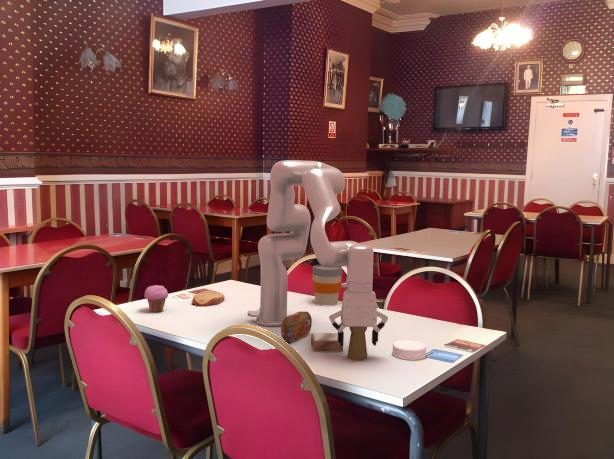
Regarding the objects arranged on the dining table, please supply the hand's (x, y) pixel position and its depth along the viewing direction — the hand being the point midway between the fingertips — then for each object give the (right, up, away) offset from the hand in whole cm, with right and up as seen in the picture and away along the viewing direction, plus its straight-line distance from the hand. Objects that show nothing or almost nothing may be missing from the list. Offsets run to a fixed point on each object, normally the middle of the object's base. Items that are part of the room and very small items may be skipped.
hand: (357, 344), depth 173 cm
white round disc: (+16, -4, +4) cm, 17 cm away
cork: (0, -4, 0) cm, 4 cm away
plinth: (-9, -3, +10) cm, 13 cm away
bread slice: (-56, +4, +69) cm, 89 cm away
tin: (-18, -2, +18) cm, 26 cm away
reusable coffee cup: (-7, +3, +68) cm, 69 cm away
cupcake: (-72, +3, +50) cm, 88 cm away
